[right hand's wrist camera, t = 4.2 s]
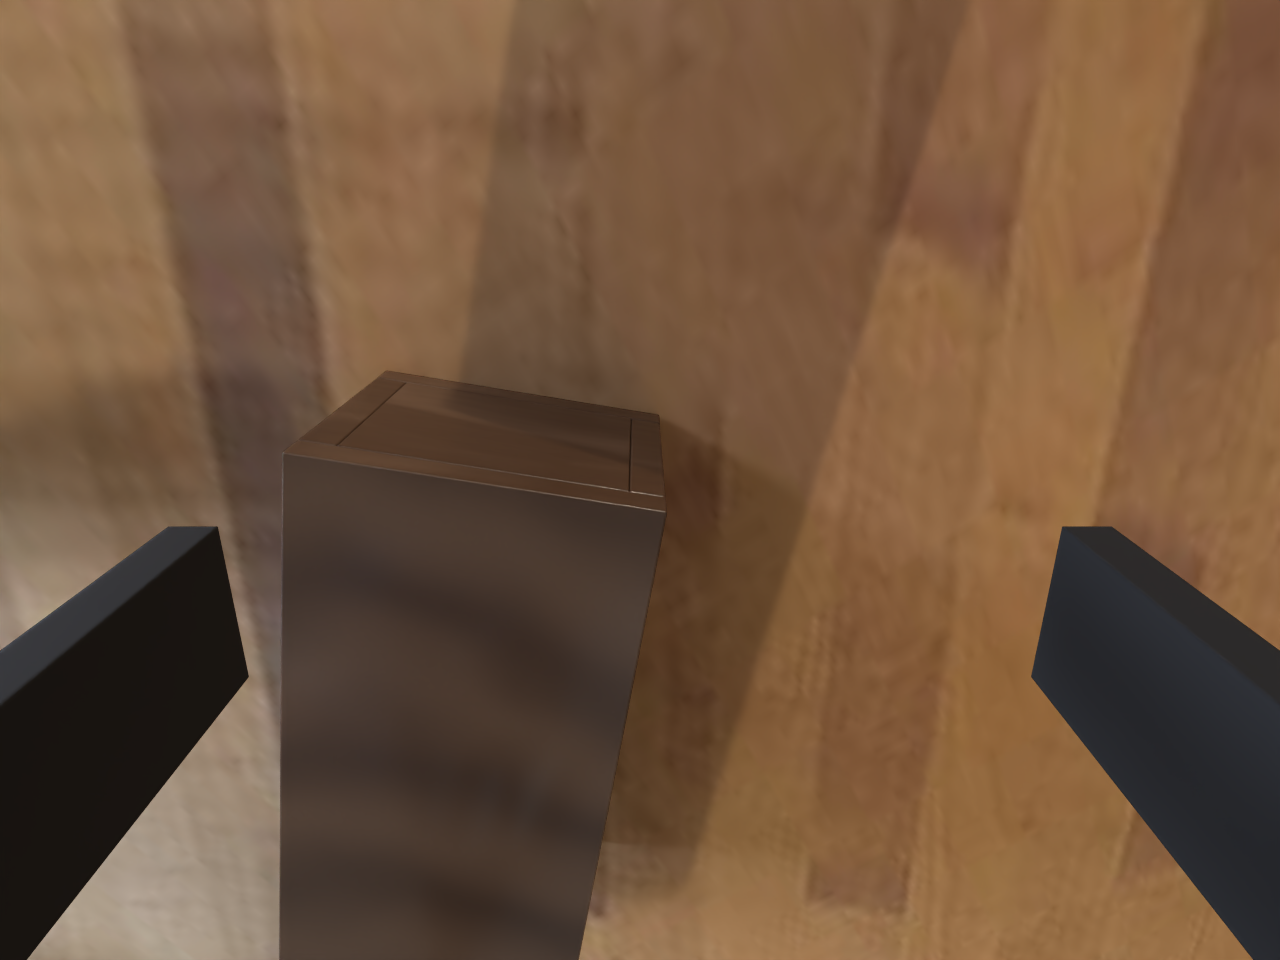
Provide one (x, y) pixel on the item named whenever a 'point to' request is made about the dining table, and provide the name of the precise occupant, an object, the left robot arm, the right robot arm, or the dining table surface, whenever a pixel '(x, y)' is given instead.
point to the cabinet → (457, 666)
